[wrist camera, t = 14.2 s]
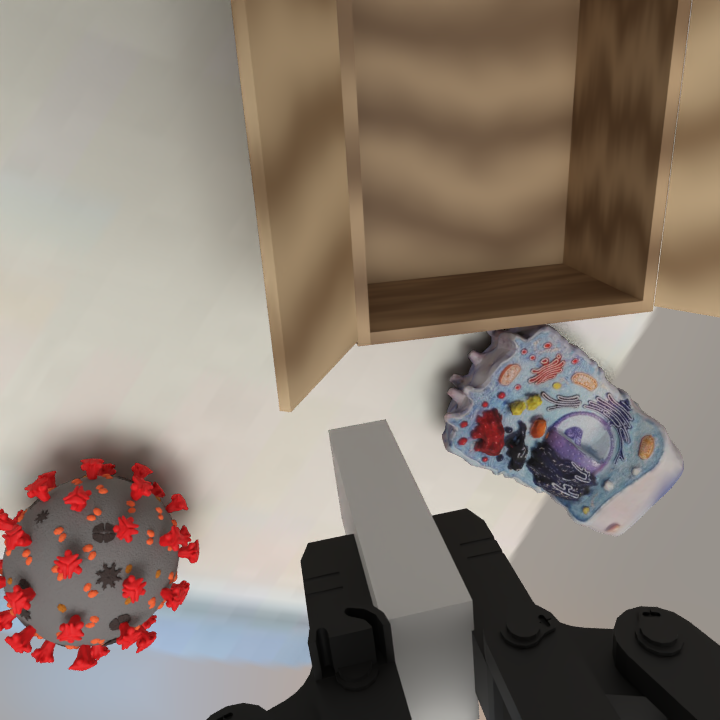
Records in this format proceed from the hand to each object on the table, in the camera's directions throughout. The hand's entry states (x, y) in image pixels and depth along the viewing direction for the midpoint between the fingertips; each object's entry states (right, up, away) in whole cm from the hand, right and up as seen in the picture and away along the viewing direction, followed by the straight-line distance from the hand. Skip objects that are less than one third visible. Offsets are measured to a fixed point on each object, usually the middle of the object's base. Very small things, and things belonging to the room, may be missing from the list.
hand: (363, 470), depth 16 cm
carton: (+7, +20, +30) cm, 37 cm away
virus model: (-21, -9, +37) cm, 43 cm away
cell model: (+16, -1, +41) cm, 44 cm away
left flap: (-3, +13, +14) cm, 19 cm away
